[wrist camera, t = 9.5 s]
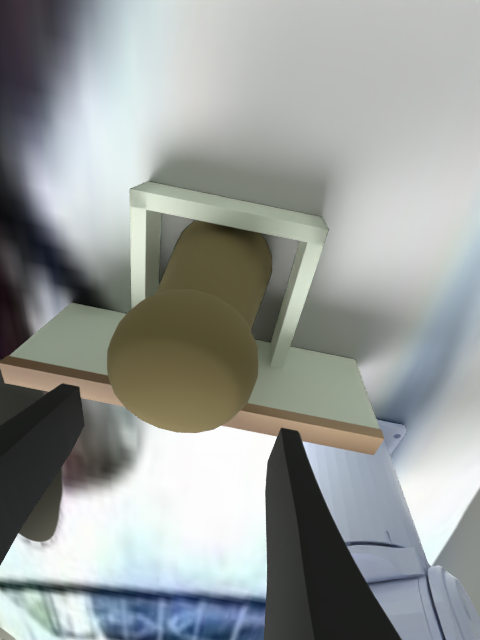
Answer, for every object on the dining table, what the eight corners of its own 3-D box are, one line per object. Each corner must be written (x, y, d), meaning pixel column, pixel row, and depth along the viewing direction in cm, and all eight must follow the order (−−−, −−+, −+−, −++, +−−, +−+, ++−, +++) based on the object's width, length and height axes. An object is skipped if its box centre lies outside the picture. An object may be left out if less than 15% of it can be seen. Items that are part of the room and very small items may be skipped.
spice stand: (348, 373, 22) (373, 455, 17) (73, 318, 22) (4, 382, 16) (415, 236, 17) (485, 289, 11) (52, 161, 17) (-61, 177, 11)
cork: (214, 190, 17) (137, 267, 7) (293, 262, 18) (313, 400, 9) (155, 267, 19) (43, 396, 10) (228, 324, 21) (192, 480, 12)
